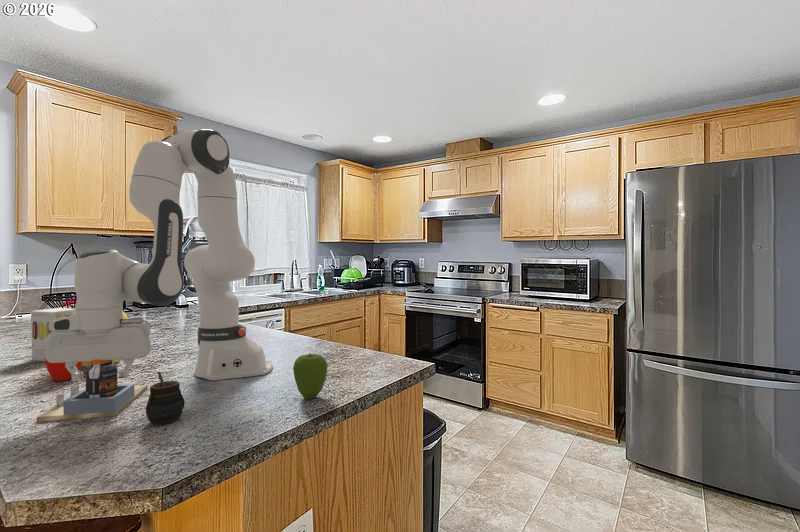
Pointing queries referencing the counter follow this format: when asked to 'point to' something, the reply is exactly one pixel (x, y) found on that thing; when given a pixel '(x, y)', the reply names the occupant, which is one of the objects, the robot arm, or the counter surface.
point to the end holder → (98, 401)
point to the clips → (73, 391)
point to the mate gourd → (164, 402)
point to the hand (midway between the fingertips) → (101, 378)
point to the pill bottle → (101, 379)
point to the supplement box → (44, 328)
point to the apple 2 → (310, 374)
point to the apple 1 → (60, 370)
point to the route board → (58, 413)
